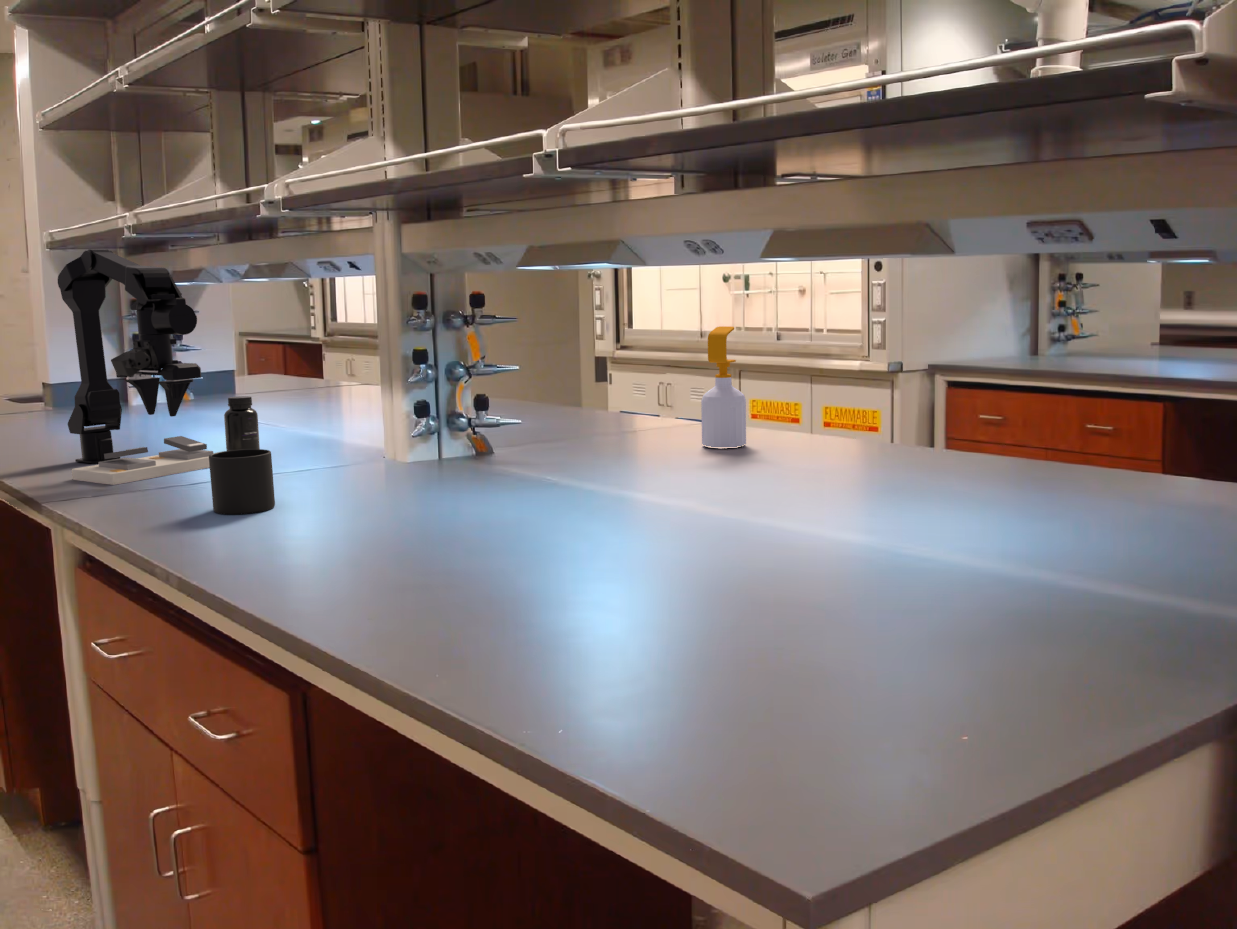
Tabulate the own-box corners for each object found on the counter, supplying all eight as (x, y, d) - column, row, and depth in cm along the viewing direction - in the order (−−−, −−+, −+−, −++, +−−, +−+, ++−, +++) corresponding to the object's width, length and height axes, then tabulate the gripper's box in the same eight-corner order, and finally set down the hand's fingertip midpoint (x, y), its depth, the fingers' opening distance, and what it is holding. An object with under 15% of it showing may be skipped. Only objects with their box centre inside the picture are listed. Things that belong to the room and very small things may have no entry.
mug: (270, 498, 189) (266, 445, 188) (278, 511, 179) (274, 454, 177) (210, 504, 186) (206, 449, 184) (215, 517, 175) (210, 460, 174)
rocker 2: (163, 443, 226) (163, 438, 226) (181, 440, 229) (181, 435, 229) (189, 452, 222) (189, 446, 222) (206, 449, 225) (206, 443, 225)
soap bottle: (753, 444, 235) (752, 325, 231) (733, 450, 228) (732, 328, 224) (714, 442, 240) (713, 325, 236) (694, 448, 232) (692, 327, 228)
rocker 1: (104, 459, 215) (103, 453, 215) (123, 456, 219) (122, 450, 219) (129, 455, 211) (127, 449, 211) (148, 452, 214) (147, 446, 214)
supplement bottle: (254, 455, 239) (249, 398, 237) (222, 455, 239) (217, 399, 237) (264, 450, 246) (260, 394, 244) (233, 450, 246) (229, 395, 244)
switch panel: (72, 479, 213) (70, 464, 213) (186, 460, 234) (185, 446, 234) (113, 485, 206) (111, 469, 206) (227, 464, 227) (226, 450, 227)
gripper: (86, 336, 214) (94, 418, 217) (147, 337, 204) (155, 423, 207) (139, 332, 223) (146, 411, 226) (199, 333, 213) (206, 415, 216)
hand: (162, 415), depth 218 cm, fingers open, 6 cm apart
